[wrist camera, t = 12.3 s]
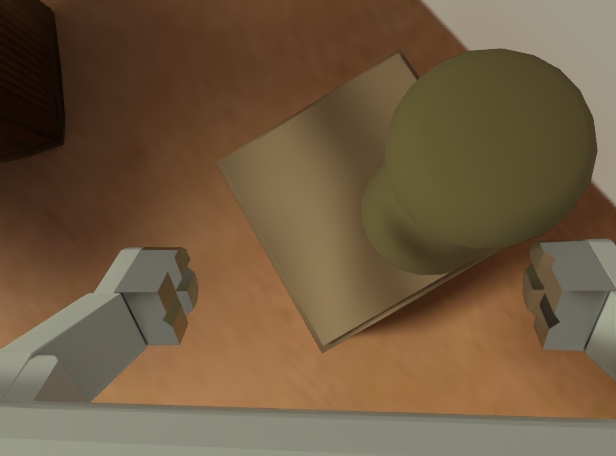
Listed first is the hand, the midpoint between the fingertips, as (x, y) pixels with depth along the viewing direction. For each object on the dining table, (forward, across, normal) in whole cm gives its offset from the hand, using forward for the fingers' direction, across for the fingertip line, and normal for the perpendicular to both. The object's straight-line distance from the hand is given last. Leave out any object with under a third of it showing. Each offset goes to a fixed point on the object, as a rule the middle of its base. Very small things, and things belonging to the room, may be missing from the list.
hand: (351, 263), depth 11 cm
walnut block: (+14, 0, +9) cm, 17 cm away
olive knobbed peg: (+10, -3, +6) cm, 12 cm away
